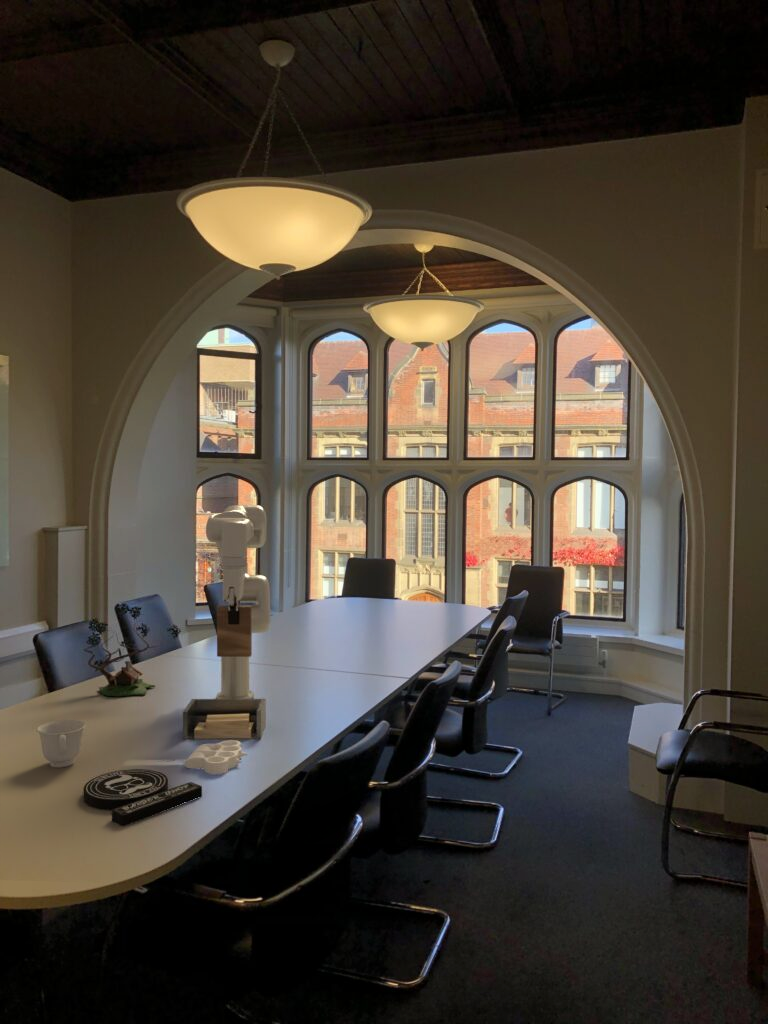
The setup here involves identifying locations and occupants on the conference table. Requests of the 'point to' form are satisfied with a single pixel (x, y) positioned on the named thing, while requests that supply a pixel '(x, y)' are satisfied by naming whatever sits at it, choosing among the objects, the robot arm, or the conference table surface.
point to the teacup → (61, 741)
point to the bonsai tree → (128, 676)
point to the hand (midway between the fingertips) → (234, 622)
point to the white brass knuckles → (216, 757)
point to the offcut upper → (227, 721)
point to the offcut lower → (222, 732)
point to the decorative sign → (136, 794)
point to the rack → (204, 707)
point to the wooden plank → (234, 633)
